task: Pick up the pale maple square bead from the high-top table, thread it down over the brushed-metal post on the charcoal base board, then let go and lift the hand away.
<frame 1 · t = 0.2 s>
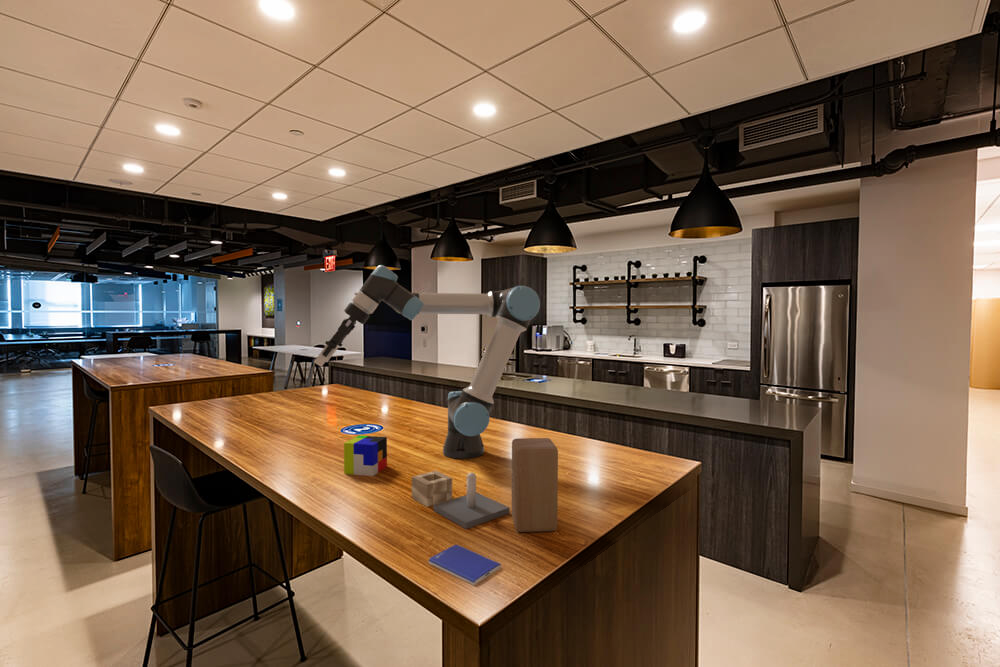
hand: (320, 362, 150), 36 cm above the table, tool tilted 35°, fingers open, 13 cm apart
hard drive: (464, 569, 95), on the table
maple bead: (431, 498, 130), on the table
puzzle toy: (366, 470, 155), on the table
post board: (471, 511, 122), on the table
wooden block: (533, 524, 115), on the table
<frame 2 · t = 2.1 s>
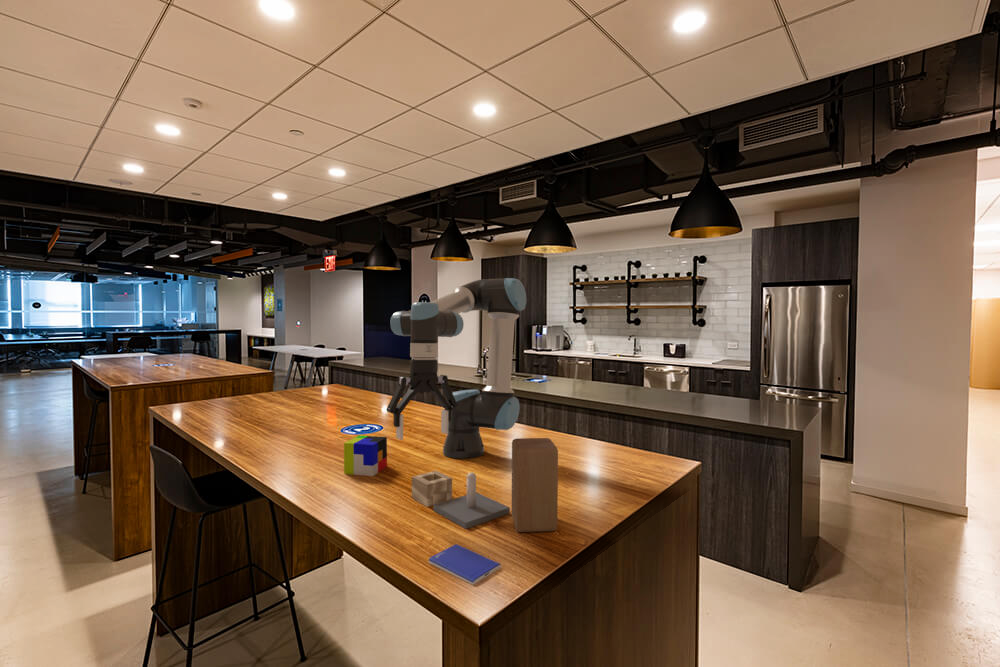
hand: (422, 435, 130), 18 cm above the table, tool pointing down, fingers open, 13 cm apart
nothing on the table moved.
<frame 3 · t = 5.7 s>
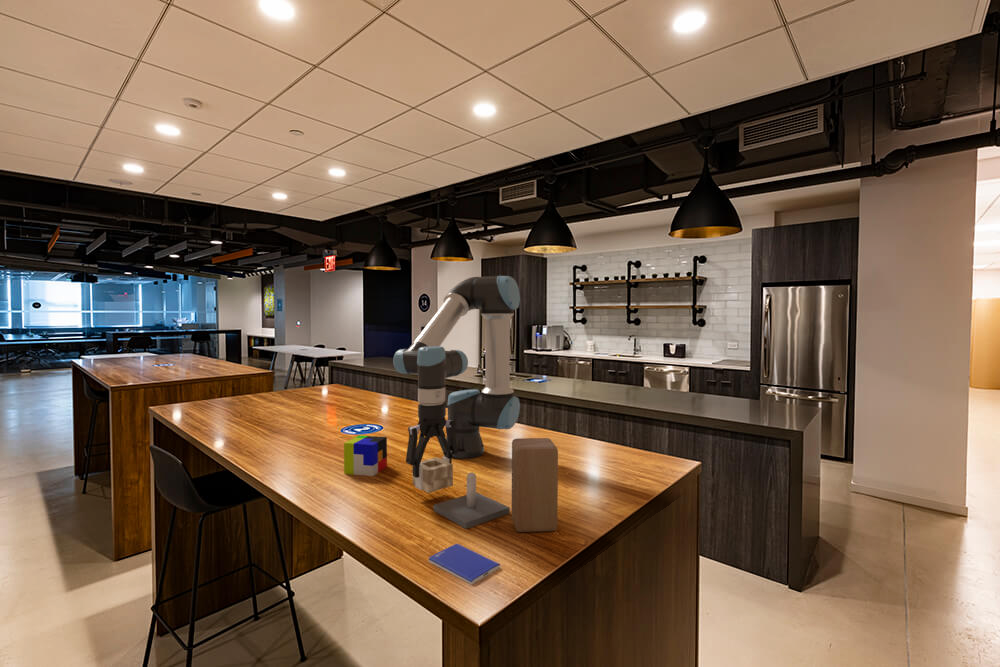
hand: (432, 484, 131), 4 cm above the table, tool pointing down, fingers closed on maple bead, 8 cm apart
maple bead: (432, 485, 131), point 4 cm above the table, touching gripper
everything else where it was.
when the fingers open (2 cm above the table, at t = 12.0 s): maple bead stays where it is, resting on post board.
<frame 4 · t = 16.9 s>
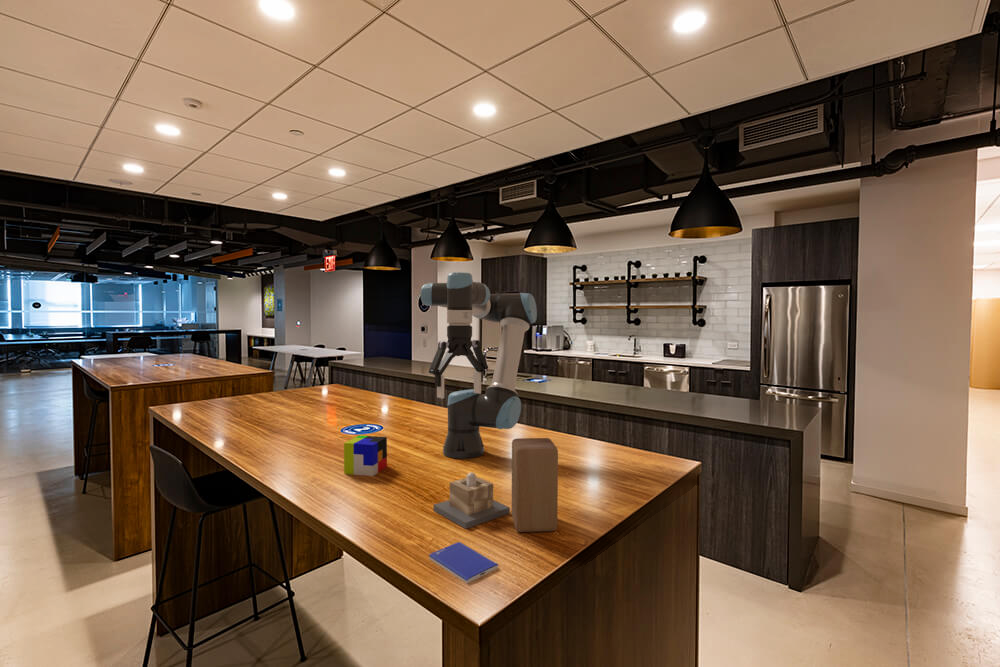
hand: (459, 395, 142), 27 cm above the table, tool pointing down, fingers open, 13 cm apart
maple bead: (471, 506, 122), point 1 cm above the table, touching post board
at the end: maple bead 0.1 cm off-centre on the post board, point 1.5 cm above the post board's base; maple bead tilted 0°; the gripper is holding nothing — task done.
